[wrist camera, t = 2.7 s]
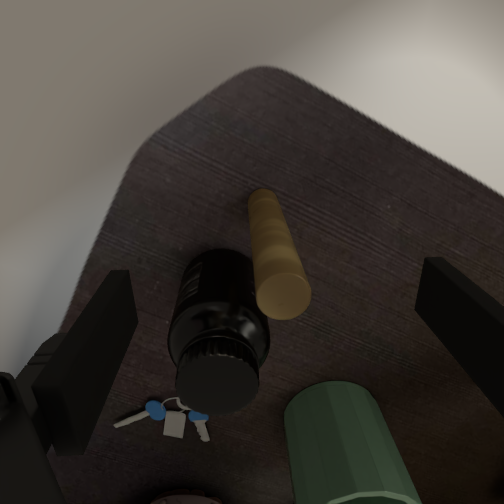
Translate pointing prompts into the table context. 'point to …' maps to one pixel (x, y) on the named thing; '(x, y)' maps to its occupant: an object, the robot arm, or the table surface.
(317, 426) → the tumbler
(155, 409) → the key chain
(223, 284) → the supplement bottle
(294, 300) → the yellow cylindrical rod
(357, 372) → the table surface
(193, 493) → the flowerpot
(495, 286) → the table surface
